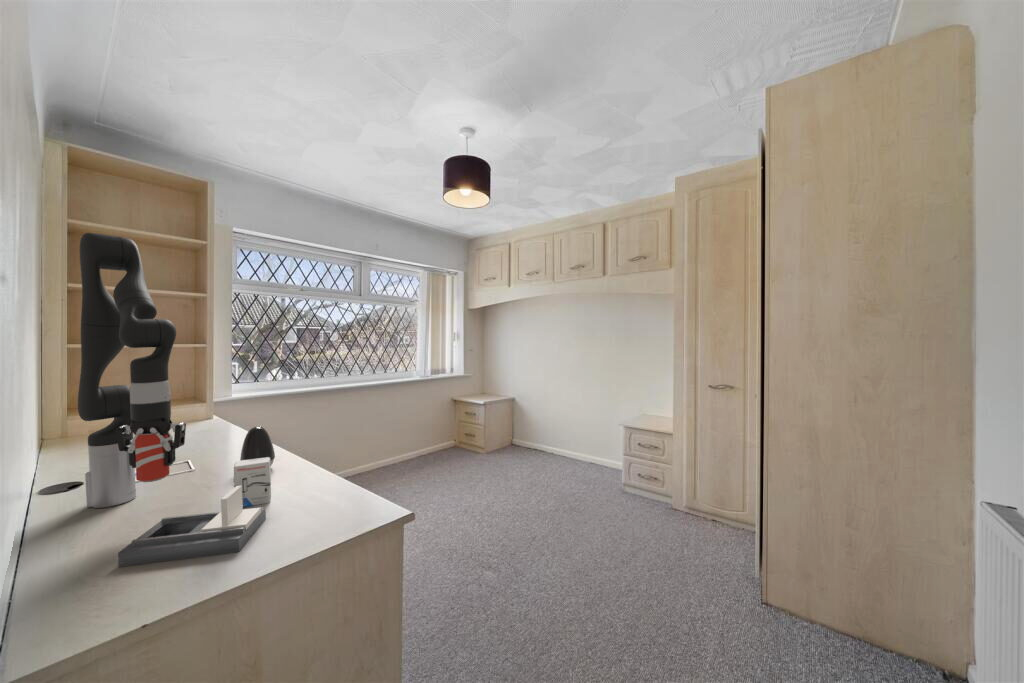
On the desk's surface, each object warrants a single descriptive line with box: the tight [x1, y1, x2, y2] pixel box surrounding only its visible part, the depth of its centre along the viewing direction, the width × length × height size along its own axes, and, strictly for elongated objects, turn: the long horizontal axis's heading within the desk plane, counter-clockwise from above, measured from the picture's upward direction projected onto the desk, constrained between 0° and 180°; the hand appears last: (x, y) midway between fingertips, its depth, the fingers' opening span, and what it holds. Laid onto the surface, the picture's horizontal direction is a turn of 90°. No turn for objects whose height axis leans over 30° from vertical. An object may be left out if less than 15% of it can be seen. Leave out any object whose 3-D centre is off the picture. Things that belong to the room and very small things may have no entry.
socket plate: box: [117, 506, 267, 568], centre depth 94 cm, size 22×16×4 cm
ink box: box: [233, 457, 272, 508], centre depth 114 cm, size 9×5×12 cm, turn 117°
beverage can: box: [135, 433, 170, 483], centre depth 102 cm, size 6×6×12 cm
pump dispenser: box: [239, 425, 276, 467], centre depth 141 cm, size 10×10×15 cm
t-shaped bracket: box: [201, 486, 261, 532], centre depth 95 cm, size 9×9×7 cm
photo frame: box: [135, 459, 196, 484], centre depth 141 cm, size 15×1×18 cm
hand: (153, 465), depth 102 cm, fingers closed on beverage can, 6 cm apart
